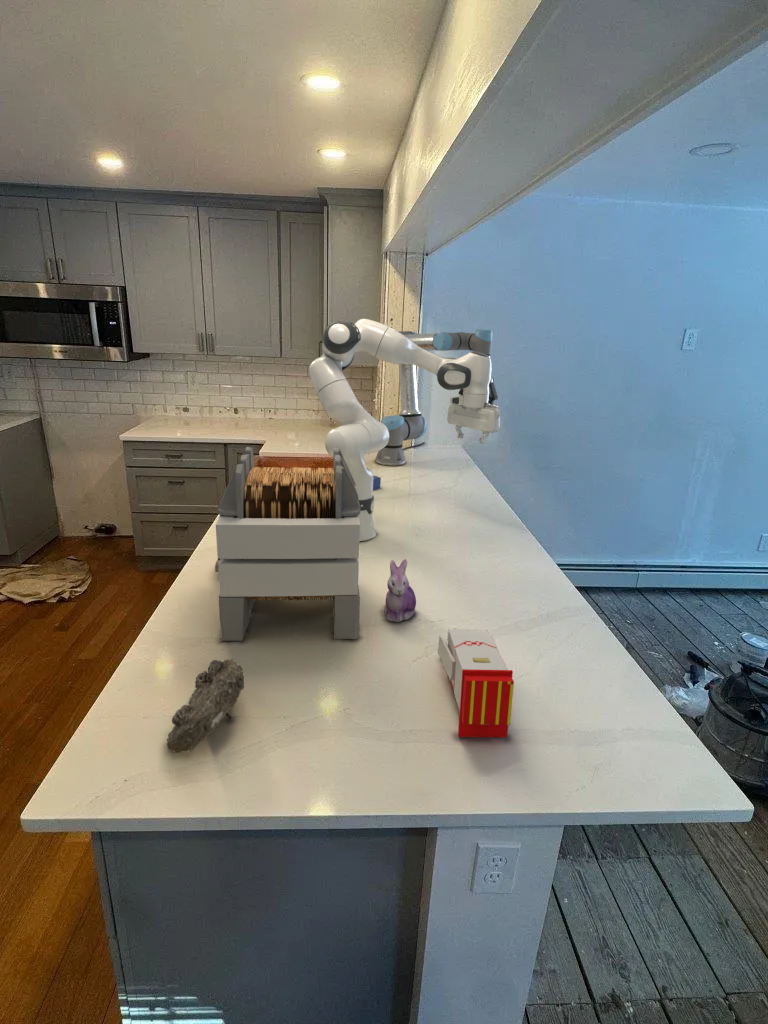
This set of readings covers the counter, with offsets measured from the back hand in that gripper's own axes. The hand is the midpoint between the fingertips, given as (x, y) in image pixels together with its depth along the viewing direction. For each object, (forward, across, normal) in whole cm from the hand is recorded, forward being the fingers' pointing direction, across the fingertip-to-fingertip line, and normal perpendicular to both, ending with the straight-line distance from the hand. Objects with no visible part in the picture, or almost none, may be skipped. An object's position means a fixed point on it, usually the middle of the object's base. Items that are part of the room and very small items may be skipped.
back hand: (476, 412), depth 261 cm
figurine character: (+31, -15, +139) cm, 143 cm away
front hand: (-1, -37, +56) cm, 67 cm away
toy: (+31, -97, +133) cm, 167 cm away
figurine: (+31, -65, +120) cm, 140 cm away
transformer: (+31, -44, +138) cm, 149 cm away
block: (+31, +17, +49) cm, 60 cm away
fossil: (+31, -68, +176) cm, 191 cm away
